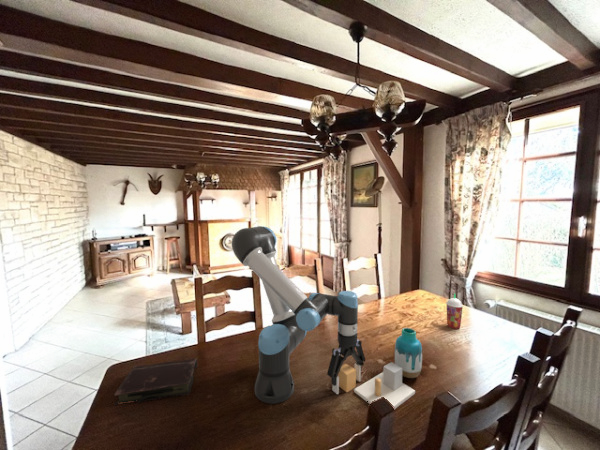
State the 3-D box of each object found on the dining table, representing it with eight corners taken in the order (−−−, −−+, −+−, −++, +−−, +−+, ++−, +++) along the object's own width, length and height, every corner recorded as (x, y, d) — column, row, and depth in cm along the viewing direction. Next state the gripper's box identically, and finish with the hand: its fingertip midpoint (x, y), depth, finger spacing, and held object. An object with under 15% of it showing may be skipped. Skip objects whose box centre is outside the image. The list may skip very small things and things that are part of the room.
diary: (134, 376, 109) (134, 364, 109) (197, 367, 115) (197, 356, 115) (113, 408, 91) (112, 395, 91) (189, 397, 97) (188, 384, 96)
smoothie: (462, 325, 153) (463, 292, 152) (461, 331, 146) (463, 297, 145) (445, 322, 158) (447, 290, 156) (445, 327, 151) (446, 294, 149)
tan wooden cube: (346, 392, 98) (346, 374, 98) (337, 385, 102) (337, 368, 102) (355, 387, 101) (356, 370, 101) (346, 380, 105) (346, 363, 105)
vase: (419, 386, 101) (421, 339, 100) (391, 377, 107) (392, 332, 106) (423, 372, 110) (424, 328, 109) (397, 364, 116) (398, 322, 115)
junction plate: (385, 416, 87) (385, 392, 87) (354, 392, 98) (354, 371, 98) (415, 393, 98) (415, 372, 97) (383, 374, 109) (384, 355, 108)
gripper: (331, 345, 90) (330, 405, 92) (375, 327, 104) (374, 379, 105) (317, 337, 96) (317, 392, 98) (360, 320, 110) (360, 369, 112)
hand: (346, 385), depth 102 cm, fingers open, 11 cm apart
